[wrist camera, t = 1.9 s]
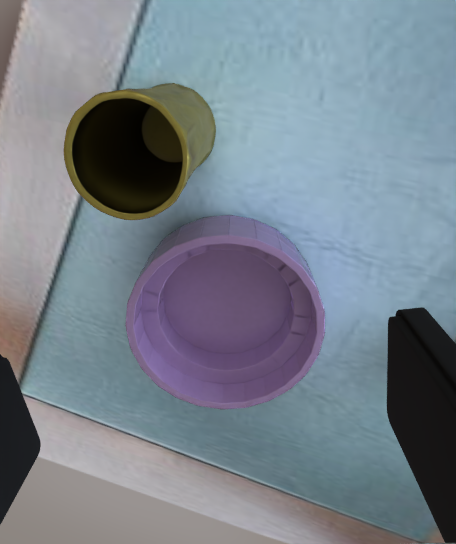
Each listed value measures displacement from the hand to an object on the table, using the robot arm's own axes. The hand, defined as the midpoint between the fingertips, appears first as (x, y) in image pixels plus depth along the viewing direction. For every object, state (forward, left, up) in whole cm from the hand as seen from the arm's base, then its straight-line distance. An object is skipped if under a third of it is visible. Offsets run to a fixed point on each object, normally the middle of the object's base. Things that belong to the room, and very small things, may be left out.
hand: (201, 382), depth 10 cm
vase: (-4, -3, -24) cm, 24 cm away
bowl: (+9, -1, -24) cm, 25 cm away
